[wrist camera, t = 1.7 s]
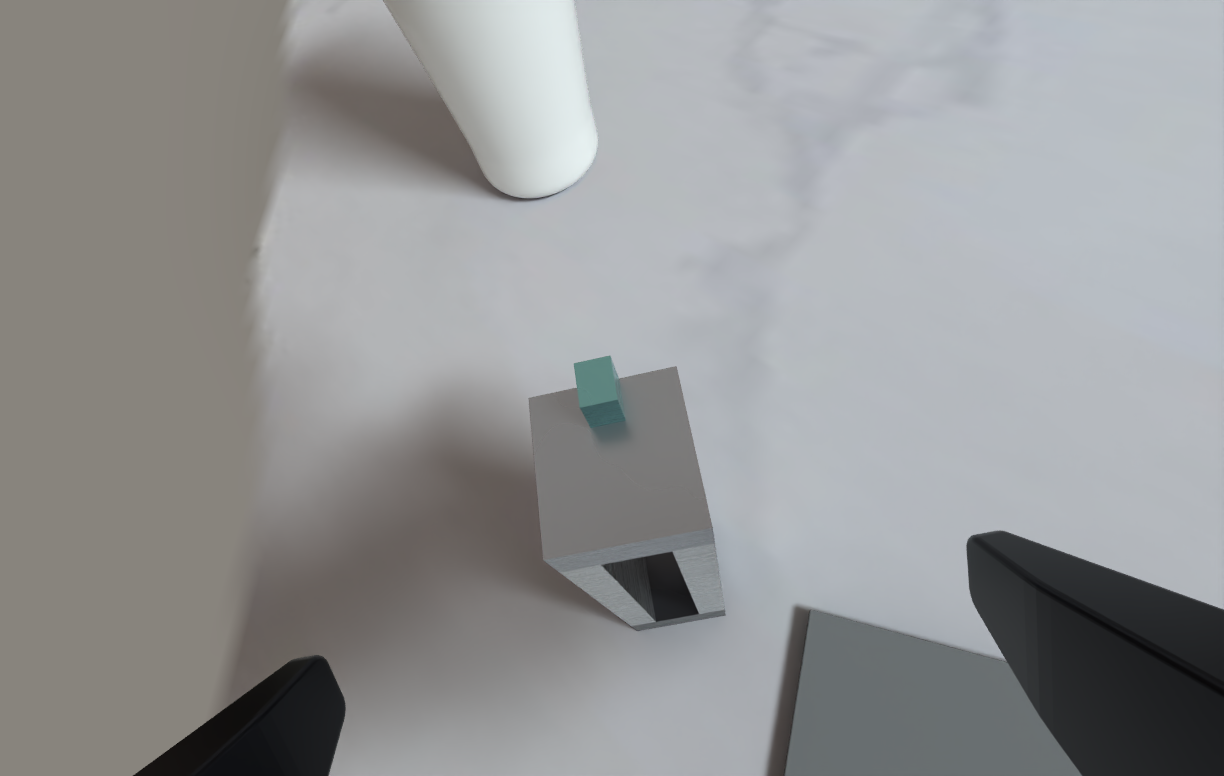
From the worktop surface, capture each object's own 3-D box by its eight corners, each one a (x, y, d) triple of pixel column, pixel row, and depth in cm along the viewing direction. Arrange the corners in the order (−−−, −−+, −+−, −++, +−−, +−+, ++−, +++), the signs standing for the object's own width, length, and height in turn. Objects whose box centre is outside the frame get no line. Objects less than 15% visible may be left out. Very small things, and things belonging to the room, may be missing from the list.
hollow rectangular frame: (725, 615, 18) (710, 512, 9) (637, 630, 18) (527, 548, 9) (704, 520, 19) (672, 342, 10) (622, 536, 20) (513, 376, 10)
